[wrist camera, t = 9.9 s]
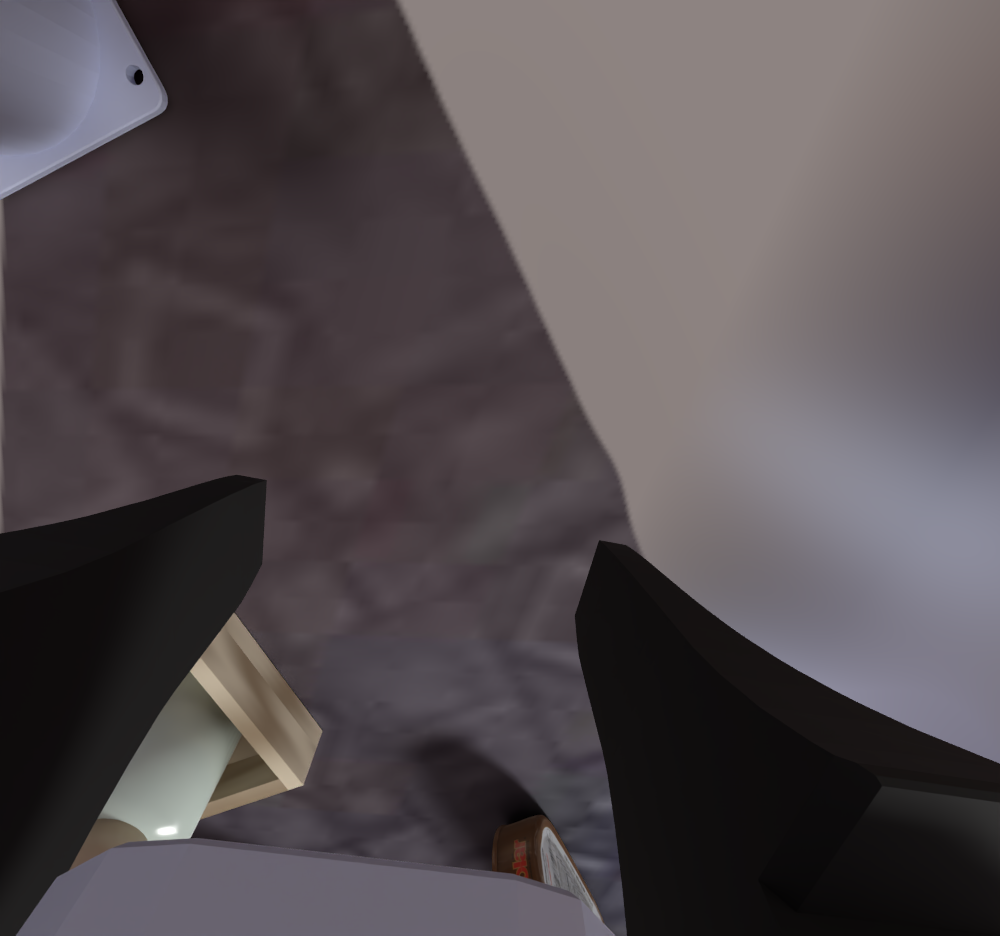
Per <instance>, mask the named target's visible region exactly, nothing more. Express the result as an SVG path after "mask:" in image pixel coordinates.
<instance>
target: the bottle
mask: <svg viewBox="0 0 1000 936" xmlns="http://www.w3.org/2000/svg"><path fill="white" fill-rule="evenodd" d="M241 736H242V734H241V732H240V731H239V730H238V729H237V728H236V726H235V725H234V724H233V723H232V721H231V720H230V719H229V718H228V717H227V715H226V714H225V713H224V712H223V711H222V709H221V708H220V707H219V706H218V705H217V703H216V702H215V701H214V700H213V699H212V697H211V696H210V695H209V694H208V692H207V691H206V690H205V689H204V688H203V686H202V685H201V684H200V683H199V682H198V680H197V679H196V678H195V677H194V676H193V674H192V673H191V672H189V673H188V674H187V676H186V677H185V678H184V680H183V681H182V682H181V684H180V685H179V686H178V688H177V689H176V690H175V692H174V693H173V695H172V696H171V697H170V699H169V700H168V702H167V703H166V705H165V706H164V708H163V709H162V711H161V712H160V713H159V715H158V717H157V718H156V720H155V722H154V723H153V725H152V727H151V728H150V730H149V732H148V733H147V735H146V737H145V738H144V740H143V741H142V743H141V745H140V746H139V748H138V750H137V751H136V753H135V755H134V756H133V758H132V760H131V761H130V763H129V765H128V766H127V768H126V770H125V772H124V773H123V775H122V777H121V779H120V780H119V782H118V784H117V785H116V787H115V789H114V791H113V792H112V794H111V796H110V798H109V799H108V801H107V803H106V805H105V806H104V808H103V810H102V812H101V813H100V815H99V817H98V819H97V820H96V822H95V824H94V826H93V827H92V829H91V831H90V833H89V835H88V837H87V838H86V840H85V842H84V844H83V846H82V848H81V850H80V851H79V853H78V855H77V857H76V859H75V861H74V862H73V864H72V866H71V868H70V870H71V869H73V868H75V867H77V866H79V865H81V864H82V863H84V862H86V861H88V860H90V859H92V858H94V857H95V856H97V855H99V854H101V853H103V852H105V851H107V850H108V849H110V848H113V847H116V846H119V845H122V844H125V843H128V842H136V841H154V840H172V839H189V838H191V836H192V834H193V832H194V830H195V828H196V826H197V824H198V822H199V820H200V818H201V816H202V814H203V812H204V810H205V808H206V806H207V804H208V802H209V800H210V798H211V796H212V794H213V792H214V790H215V788H216V786H217V784H218V782H219V780H220V778H221V776H222V774H223V772H224V770H225V768H226V766H227V764H228V762H229V760H230V758H231V756H232V754H233V752H234V750H235V748H236V746H237V744H238V742H239V740H240V738H241Z"/></svg>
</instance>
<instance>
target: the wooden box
mask: <svg viewBox="0 0 1000 936" xmlns="http://www.w3.org/2000/svg"><path fill="white" fill-rule="evenodd" d="M190 672H191V673H192V674H193V676H194V677H195V678H196V679H197V680H198V682H199V683H200V684H201V685H202V686H203V688H204V689H205V690H206V691H207V692H208V694H209V695H210V696H211V697H212V699H213V700H214V701H215V702H216V703H217V705H218V706H219V707H220V708H221V709H222V711H223V712H224V713H225V714H226V715H227V717H228V718H229V719H230V720H231V721H232V723H233V724H234V725H235V726H236V728H237V729H238V730H239V731H240V732H241V734H242V736H241V738H240V740H239V742H238V744H237V746H236V748H235V750H234V752H233V754H232V756H231V758H230V760H229V762H228V764H227V766H226V768H225V770H224V772H223V774H222V776H221V778H220V780H219V782H218V784H217V786H216V788H215V790H214V792H213V794H212V796H211V798H210V800H209V802H208V804H207V806H206V808H205V810H204V812H203V814H202V816H201V818H200V819H203V818H206V817H209V816H212V815H215V814H218V813H221V812H224V811H227V810H230V809H233V808H236V807H239V806H242V805H245V804H248V803H251V802H254V801H257V800H260V799H263V798H266V797H269V796H272V795H275V794H278V793H281V792H284V791H287V790H290V789H293V788H296V787H299V786H302V785H304V782H305V779H306V776H307V773H308V771H309V768H310V765H311V762H312V759H313V756H314V754H315V751H316V748H317V745H318V742H319V739H320V737H321V734H322V730H321V728H320V727H319V726H318V724H317V723H316V722H315V720H314V719H313V718H312V716H311V715H310V714H309V712H308V711H307V709H306V708H305V707H304V705H303V704H302V703H301V701H300V700H299V699H298V697H297V696H296V695H295V693H294V692H293V691H292V689H291V688H290V687H289V685H288V684H287V683H286V681H285V680H284V679H283V677H282V676H281V675H280V673H279V672H278V671H277V669H276V668H275V667H274V665H273V664H272V663H271V661H270V660H269V659H268V657H267V656H266V654H265V653H264V652H263V650H262V649H261V648H260V646H259V645H258V644H257V642H256V641H255V640H254V638H253V637H252V636H251V634H250V633H249V632H248V630H247V629H246V628H245V626H244V625H243V624H242V622H241V621H240V620H239V618H238V617H237V616H236V614H235V613H233V615H232V616H231V617H230V619H229V620H228V621H227V623H226V624H225V625H224V627H223V628H222V629H221V631H220V632H219V633H218V635H217V636H216V637H215V639H214V640H213V641H212V643H211V644H210V645H209V647H208V648H207V649H206V651H205V652H204V653H203V655H202V656H201V657H200V659H199V660H198V661H197V663H196V664H195V665H194V667H193V668H192V669H191V670H190Z"/></svg>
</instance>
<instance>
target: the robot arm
mask: <svg viewBox="0 0 1000 936" xmlns="http://www.w3.org/2000/svg"><path fill="white" fill-rule="evenodd" d="M139 69H141V70H142V73H143V76H144V78H143V82H142V83H141V84H140V85H137V84H136V83H135V80H134V73H135V72H136V71H137V70H139ZM167 104H168V98H167V94H166V91H165V89H164V87H163V85H162V83H161V81H160V80H159V78H158V76H157V74H156V72H155V71H154V69H153V67H152V65H151V63H150V61H149V60H148V58H147V56H146V54H145V52H144V51H143V49H142V47H141V45H140V43H139V41H138V40H137V38H136V36H135V34H134V32H133V31H132V29H131V27H130V25H129V23H128V22H127V20H126V18H125V16H124V14H123V12H122V11H121V9H120V7H119V5H118V3H117V2H116V0H0V200H1V199H3V198H5V197H7V196H8V195H10V194H12V193H14V192H16V191H18V190H20V189H22V188H23V187H25V186H27V185H29V184H31V183H33V182H35V181H36V180H38V179H40V178H42V177H44V176H46V175H48V174H49V173H51V172H53V171H55V170H57V169H59V168H61V167H63V166H64V165H66V164H68V163H70V162H72V161H74V160H76V159H77V158H79V157H81V156H83V155H85V154H87V153H89V152H90V151H92V150H94V149H96V148H98V147H100V146H102V145H104V144H105V143H107V142H109V141H111V140H113V139H115V138H117V137H118V136H120V135H122V134H124V133H126V132H128V131H130V130H131V129H133V128H135V127H137V126H139V125H141V124H143V123H145V122H146V121H148V120H150V119H152V118H154V117H156V116H158V115H159V114H161V113H162V112H163V111H164V110H166V107H167ZM266 482H267V480H262V479H257V478H251V477H246V476H240V475H233V476H227V477H223V478H219V479H215V480H212V481H208V482H205V483H201V484H198V485H195V486H191V487H188V488H185V489H182V490H178V491H175V492H172V493H169V494H165V495H162V496H159V497H155V498H152V499H149V500H145V501H142V502H138V503H134V504H131V505H127V506H123V507H120V508H116V509H112V510H109V511H105V512H101V513H97V514H94V515H90V516H86V517H82V518H77V519H73V520H69V521H64V522H59V523H55V524H50V525H45V526H39V527H34V528H29V529H24V530H19V531H13V532H7V533H1V534H0V936H615V935H614V934H613V933H612V932H611V931H610V930H609V928H608V927H607V926H606V925H605V924H604V923H603V922H602V921H601V920H600V919H599V918H598V917H597V916H596V915H595V914H594V913H593V912H592V911H591V910H590V909H589V908H588V907H587V906H586V905H585V904H584V903H583V902H582V901H581V900H580V899H579V898H578V897H576V896H575V895H574V894H572V893H571V892H570V891H567V890H564V889H561V888H558V887H554V886H551V885H548V884H545V883H541V882H538V881H535V880H531V879H528V878H525V877H522V876H518V875H515V874H510V873H501V872H493V871H484V870H475V869H466V868H457V867H449V866H440V865H431V864H422V863H413V862H405V861H396V860H387V859H378V858H369V857H361V856H352V855H343V854H334V853H325V852H317V851H308V850H299V849H290V848H281V847H273V846H264V845H255V844H246V843H237V842H229V841H220V840H211V839H202V838H189V839H172V840H154V841H136V842H128V843H125V844H122V845H119V846H116V847H113V848H110V849H108V850H107V851H105V852H103V853H101V854H99V855H97V856H95V857H94V858H92V859H90V860H88V861H86V862H84V863H82V864H81V865H79V866H77V867H75V868H73V869H71V870H70V868H71V866H72V864H73V862H74V861H75V859H76V857H77V855H78V853H79V851H80V850H81V848H82V846H83V844H84V842H85V840H86V838H87V837H88V835H89V833H90V831H91V829H92V827H93V826H94V824H95V822H96V820H97V819H98V817H99V815H100V813H101V812H102V810H103V808H104V806H105V805H106V803H107V801H108V799H109V798H110V796H111V794H112V792H113V791H114V789H115V787H116V785H117V784H118V782H119V780H120V779H121V777H122V775H123V773H124V772H125V770H126V768H127V766H128V765H129V763H130V761H131V760H132V758H133V756H134V755H135V753H136V751H137V750H138V748H139V746H140V745H141V743H142V741H143V740H144V738H145V737H146V735H147V733H148V732H149V730H150V728H151V727H152V725H153V723H154V722H155V720H156V718H157V717H158V715H159V713H160V712H161V711H162V709H163V708H164V706H165V705H166V703H167V702H168V700H169V699H170V697H171V696H172V695H173V693H174V692H175V690H176V689H177V688H178V686H179V685H180V684H181V682H182V681H183V680H184V678H185V677H186V676H187V674H188V673H189V672H190V670H191V669H192V668H193V667H194V665H195V664H196V663H197V661H198V660H199V659H200V657H201V656H202V655H203V653H204V652H205V651H206V649H207V648H208V647H209V645H210V644H211V643H212V641H213V640H214V639H215V637H216V636H217V635H218V633H219V632H220V631H221V629H222V628H223V627H224V625H225V624H226V623H227V621H228V620H229V619H230V617H231V616H232V615H233V613H234V612H235V610H236V609H237V608H238V606H239V605H240V603H241V602H242V600H243V598H244V597H245V595H246V593H247V591H248V590H249V588H250V586H251V584H252V582H253V580H254V578H255V577H256V575H257V573H258V571H259V569H260V567H261V565H262V557H263V538H264V520H265V501H266ZM575 622H576V634H577V643H578V652H579V658H580V662H581V667H582V671H583V675H584V679H585V683H586V687H587V691H588V695H589V699H590V703H591V707H592V711H593V715H594V719H595V723H596V727H597V731H598V735H599V739H600V742H601V746H602V750H603V755H604V760H605V765H606V769H607V774H608V781H609V788H610V795H611V802H612V809H613V816H614V822H615V830H616V838H617V846H618V855H619V863H620V871H621V879H622V888H623V898H624V908H625V918H626V928H627V936H1000V764H999V763H997V762H994V761H992V760H989V759H987V758H984V757H982V756H980V755H977V754H975V753H972V752H970V751H967V750H965V749H962V748H960V747H957V746H955V745H953V744H950V743H948V742H945V741H943V740H940V739H938V738H935V737H933V736H930V735H928V734H926V733H923V732H920V731H918V730H916V729H914V728H911V727H909V726H907V725H905V724H902V723H900V722H898V721H896V720H894V719H892V718H890V717H887V716H885V715H883V714H881V713H879V712H877V711H875V710H873V709H870V708H868V707H866V706H864V705H862V704H860V703H858V702H856V701H854V700H852V699H850V698H848V697H846V696H844V695H842V694H840V693H838V692H836V691H834V690H832V689H831V688H829V687H827V686H825V685H823V684H821V683H820V682H818V681H816V680H814V679H812V678H811V677H809V676H807V675H805V674H803V673H802V672H800V671H798V670H796V669H794V668H793V667H791V666H789V665H788V664H786V663H784V662H782V661H781V660H779V659H778V658H776V657H774V656H773V655H771V654H770V653H768V652H767V651H765V650H764V649H762V648H761V647H759V646H757V645H756V644H754V643H753V642H751V641H750V640H748V639H746V638H745V637H744V636H742V635H741V634H739V633H738V632H736V631H735V630H734V629H732V628H731V627H729V626H728V625H727V624H725V623H724V622H723V621H721V620H720V619H719V618H717V617H716V616H715V615H713V614H712V613H711V612H709V611H708V610H706V609H705V608H704V607H703V606H701V605H700V604H699V603H698V602H696V601H695V600H694V599H692V598H691V597H690V596H689V595H688V594H687V593H685V592H684V591H683V590H681V589H680V588H679V587H678V586H677V585H676V584H674V583H673V582H672V581H671V580H670V579H668V578H667V577H666V576H665V575H664V574H662V573H661V572H660V571H659V570H658V569H656V568H655V567H654V566H653V565H652V564H651V563H649V562H648V561H647V560H646V559H644V558H643V557H642V556H641V555H639V554H638V553H637V552H635V551H634V550H633V549H631V548H630V547H628V546H626V545H622V544H617V543H611V542H606V541H600V540H599V542H598V546H597V549H596V552H595V555H594V558H593V561H592V564H591V567H590V570H589V574H588V577H587V580H586V583H585V586H584V589H583V592H582V595H581V598H580V601H579V605H578V608H577V611H576V614H575Z"/></svg>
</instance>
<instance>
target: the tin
mask: <svg viewBox="0 0 1000 936" xmlns="http://www.w3.org/2000/svg"><path fill="white" fill-rule="evenodd" d="M492 871H493V872H501V873H510V874H515V875H518V876H522V877H525V878H528V879H531V880H535V881H538V882H541V883H545V884H548V885H551V886H554V887H558V888H561V889H564V890H567V891H570V892H571V893H572V894H574V895H575V896H576V897H578V898H579V899H580V900H581V901H582V902H583V903H584V904H585V905H586V906H587V907H588V908H589V909H590V910H591V911H592V912H593V913H594V914H595V915H596V916H597V917H598V918H599V919H600V920H601V921H602V922H603V923H604V921H603V918H602V916H601V914H600V911H599V909H598V907H597V904H596V902H595V900H594V899H593V897H592V895H591V893H590V891H589V889H588V887H587V885H586V884H585V882H584V880H583V878H582V876H581V874H580V872H579V870H578V869H577V867H576V865H575V863H574V861H573V860H572V858H571V856H570V854H569V852H568V851H567V849H566V847H565V845H564V843H563V842H562V840H561V838H560V836H559V835H558V833H557V831H556V829H555V828H554V826H553V825H552V823H551V822H550V821H549V819H547V818H546V817H545V816H543V815H535V816H532V817H529V818H526V819H523V820H520V821H518V822H515V823H512V824H509V825H501V826H499V827H498V828H497V830H496V832H495V836H494V840H493V848H492Z"/></svg>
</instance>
